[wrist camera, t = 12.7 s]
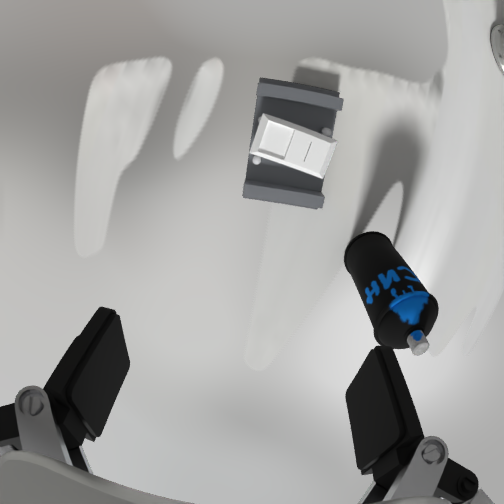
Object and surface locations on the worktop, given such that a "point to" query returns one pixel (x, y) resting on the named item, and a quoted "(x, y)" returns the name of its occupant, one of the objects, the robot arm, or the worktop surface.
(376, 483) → the robot arm
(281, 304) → the worktop surface
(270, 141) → the white rectangular block
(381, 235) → the aerosol can
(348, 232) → the worktop surface
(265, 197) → the pin tray
